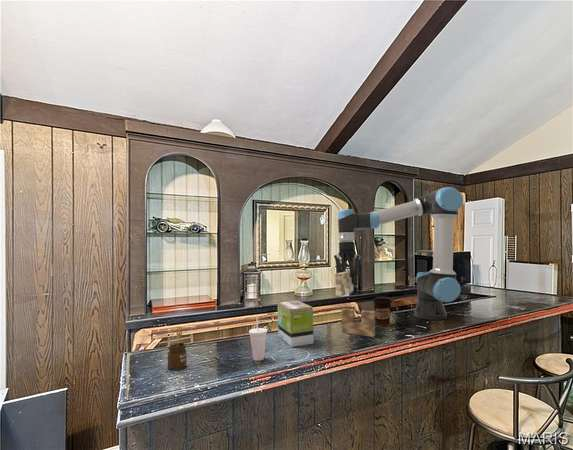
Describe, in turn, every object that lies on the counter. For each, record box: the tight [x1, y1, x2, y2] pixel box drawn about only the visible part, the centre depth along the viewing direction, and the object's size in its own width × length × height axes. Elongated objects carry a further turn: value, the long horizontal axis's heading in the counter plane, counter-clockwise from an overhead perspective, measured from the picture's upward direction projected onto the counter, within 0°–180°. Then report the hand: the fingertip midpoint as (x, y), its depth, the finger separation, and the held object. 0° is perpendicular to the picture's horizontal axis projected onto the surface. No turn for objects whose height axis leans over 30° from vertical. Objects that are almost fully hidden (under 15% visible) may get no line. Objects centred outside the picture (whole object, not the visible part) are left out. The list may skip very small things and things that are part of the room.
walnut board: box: [341, 308, 376, 338], centre depth 138 cm, size 14×2×10 cm, turn 56°
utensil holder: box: [167, 326, 188, 371], centre depth 105 cm, size 6×6×12 cm
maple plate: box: [334, 270, 354, 297], centre depth 149 cm, size 13×2×10 cm, turn 145°
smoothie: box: [248, 316, 268, 362], centre depth 111 cm, size 6×6×14 cm
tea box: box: [277, 300, 315, 348], centre depth 131 cm, size 15×10×15 cm, turn 22°
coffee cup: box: [373, 296, 392, 327], centre depth 151 cm, size 9×8×13 cm
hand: (348, 290), depth 152 cm, fingers closed on maple plate, 2 cm apart
